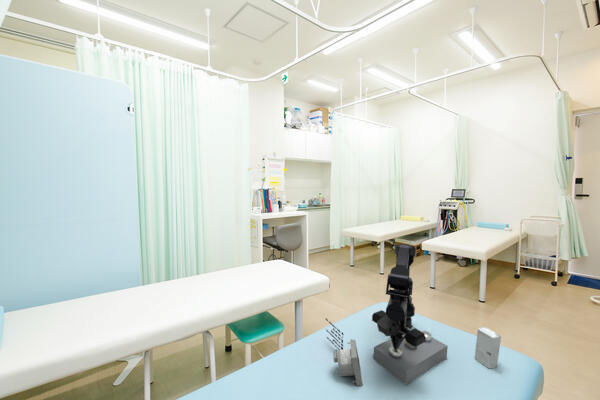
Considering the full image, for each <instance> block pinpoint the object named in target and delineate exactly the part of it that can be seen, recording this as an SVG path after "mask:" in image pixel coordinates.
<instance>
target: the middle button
mask: <svg viewBox="0 0 600 400" xmlns="http://www.w3.org/2000/svg"><path fill="white" fill-rule="evenodd" d="M405 341H406V340H405ZM406 347H408V348H409V349H411V350H414V349H415V348H416V347H415V346H412V345H411V344H409V343H408V342H406Z"/></svg>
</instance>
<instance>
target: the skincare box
mask: <svg viewBox="0 0 600 400" xmlns="http://www.w3.org/2000/svg"><path fill="white" fill-rule="evenodd" d="M501 339H502V336H501V335H499V333H498V334H497V333H496V332H495V331H493V330H491V329H489V328H488V327H487V326H486V327H485V326H484V327H480V328H478V329H477V333H476V342H475V343H476V344H475V351H474V359H475V360H476V361H477V362H479V363H480V364H482V365H483V366H484V367H486V368H488V369H493V368H497V367H498V362H499V353H500V347H501V341H502V340H501Z"/></svg>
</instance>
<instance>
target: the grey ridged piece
mask: <svg viewBox="0 0 600 400" xmlns="http://www.w3.org/2000/svg"><path fill="white" fill-rule="evenodd" d="M324 320H325V321H328V318H325V319H324ZM328 323H329V324H330V325H331V326H332V327H333V328H332V329H331V330H330V331H329V330H328V329H327V328H326V329H325V330H326V332H327V333H328V334H329V335H330V336H331V337H332V340H331V339H330V338H329V337H328V336H326V338H327V340H328V341H329V342H330V343H331V344H332V345H334V347H336V348H335V350H336V351H335V352H333V362H334V363H337V366H338V373H339V376H340V377H347V376H354V378H355V380H352V383H356V386H357V387H359V386H362V385H363V378H362V371H361V369H362V368H361V362H360V358H359V352H358V348H357V341H356V339H352V338H351V339H349V342H346V344H348V345H349V344H350V348H345V349H344V344H343V343H344V340H343V338H344V332H342V331H341V330H340V329H339V328H336V325H334V324H333V323H332V322H331V321H328ZM341 335H342V336H341ZM336 337H337V338H336ZM333 338H334V339H333ZM339 340H340V341H339ZM339 348H340V349H339Z"/></svg>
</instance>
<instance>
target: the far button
mask: <svg viewBox="0 0 600 400" xmlns="http://www.w3.org/2000/svg"><path fill="white" fill-rule="evenodd" d="M420 331H421V332H422V333H424V334H425V336H426V341H425V342H431V337H432V334H431V333H430V332H429V331H426V330H420Z"/></svg>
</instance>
